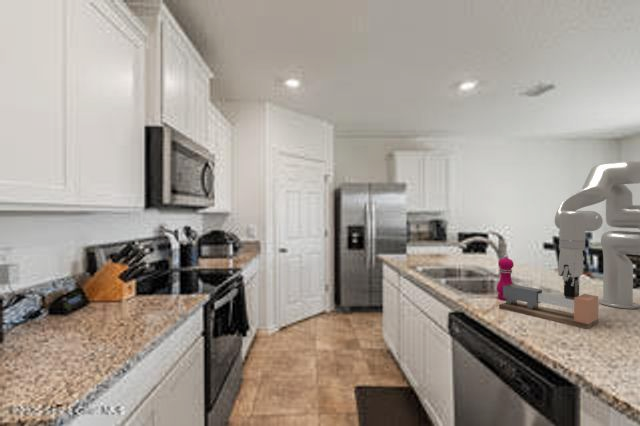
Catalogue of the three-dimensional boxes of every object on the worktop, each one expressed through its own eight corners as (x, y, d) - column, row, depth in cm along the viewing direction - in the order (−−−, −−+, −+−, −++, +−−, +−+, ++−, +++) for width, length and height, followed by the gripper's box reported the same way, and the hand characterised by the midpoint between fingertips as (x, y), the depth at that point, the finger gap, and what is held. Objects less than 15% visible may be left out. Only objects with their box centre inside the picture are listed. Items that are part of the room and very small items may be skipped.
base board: (512, 304, 145) (512, 300, 145) (598, 322, 121) (598, 318, 121) (499, 308, 139) (499, 304, 139) (587, 328, 114) (587, 324, 114)
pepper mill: (499, 300, 151) (499, 255, 151) (494, 296, 158) (495, 253, 158) (517, 301, 149) (517, 256, 149) (511, 297, 156) (512, 254, 156)
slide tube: (531, 298, 135) (532, 273, 135) (590, 310, 120) (590, 281, 120) (528, 299, 133) (528, 274, 133) (587, 311, 118) (587, 282, 118)
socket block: (584, 316, 124) (584, 293, 124) (598, 319, 121) (598, 296, 120) (573, 321, 118) (574, 297, 118) (587, 324, 115) (588, 300, 115)
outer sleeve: (508, 301, 143) (509, 283, 143) (541, 308, 133) (542, 289, 133) (502, 303, 140) (503, 285, 140) (536, 310, 130) (536, 291, 130)
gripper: (568, 243, 131) (568, 291, 131) (550, 245, 121) (550, 296, 121) (592, 245, 124) (592, 295, 125) (575, 247, 115) (575, 301, 115)
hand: (571, 295), depth 123 cm, fingers closed on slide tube, 3 cm apart
